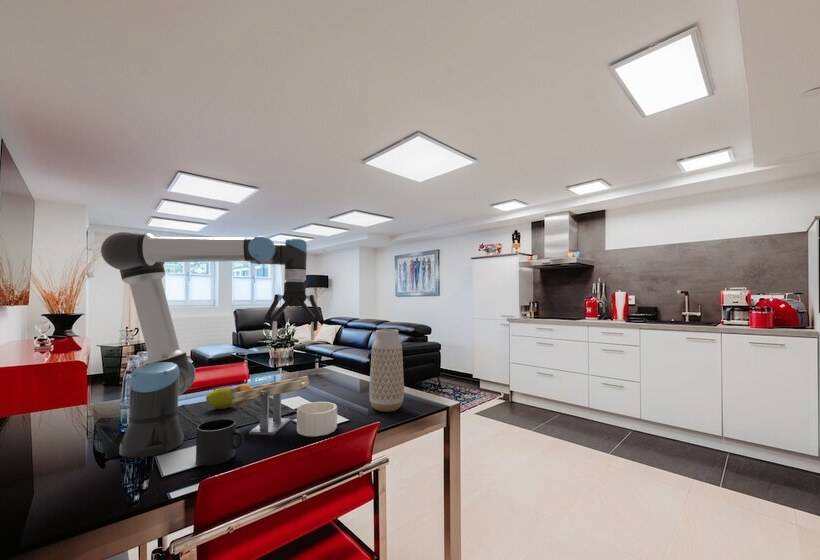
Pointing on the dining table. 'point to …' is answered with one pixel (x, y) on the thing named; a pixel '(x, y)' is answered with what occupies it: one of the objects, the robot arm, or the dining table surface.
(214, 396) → the lemon
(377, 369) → the vase
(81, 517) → the dining table surface
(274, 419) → the stand
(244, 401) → the lever
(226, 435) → the mug
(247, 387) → the ball
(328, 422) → the pot
